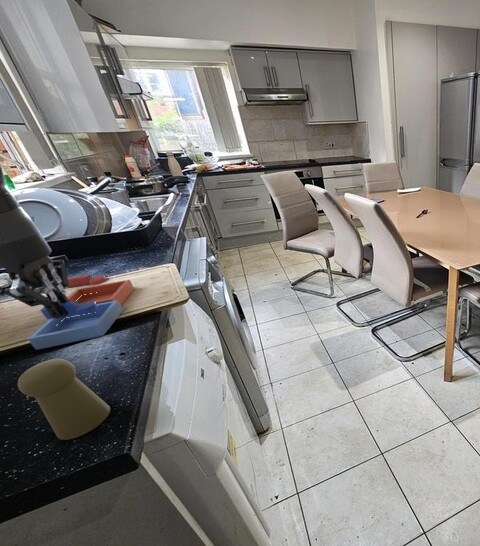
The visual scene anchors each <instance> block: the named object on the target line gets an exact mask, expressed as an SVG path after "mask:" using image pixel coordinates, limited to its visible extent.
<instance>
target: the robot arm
mask: <svg viewBox="0 0 480 546" xmlns="http://www.w3.org/2000/svg"><path fill="white" fill-rule="evenodd" d="M1 164H2V163H0V268H1V269H4V270H6V272H7V274H8V277H9V279H10V280H11V281H12V283H11V286H10V287H8V288H7V287H6V288H4V294H5V295H6V296H8V297H11V298H13V299H14V300H17V301H19V302H21V303H22V304H25V305H27V306H29V307H32V308H33V307H37V306H43V307H45V309H46V310H47V311H48V313H49V314H50V315H51V316H52V317H53V318H55V319H57V318H62V317H66V316H67V315H68V312H67V311H66V310H65V308H64V307H63V305H62V304H61V303H65V302H69V300H68V298H67V297H68V296H67V295H66V293H67V290H66V289H67V287H69V283H68V278H69V277H68V273H67V269H66V263H65V261H64V259H56V260H53V259H52V258H51V257H50V255H51V254H52V248H51V247H50V245H49V244H48V242H47V241H46V239H45V238H44V236H43V234H42V233H41V231H40V230H39V229H38V227H37V226H36V223H34V221H33V219H32V218H31V217H30V215H29V214H28V212H26V211H25V210H24V209H23V207H22V206H21V205H20V203H19V201H18V200H17V198H16V197H15V196H14V194H13V193H12V191H11V189H10V188H9V187H8V185H7V183H6V180H5V176H4V171H3V167H2V165H1ZM44 294H45V295H44Z"/></svg>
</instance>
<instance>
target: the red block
mask: <svg viewBox="0 0 480 546" xmlns="http://www.w3.org/2000/svg"><path fill="white" fill-rule="evenodd" d="M67 278H68V283H69V287H67V288H68V289H69V288H74V287H80V286H87V285H90V286H96V285H100V284H101V283H102V284H103V283H104V282H105V281H106V280H107V278H106V277H105V275H96V276H94V277H92V276H91V274H84V275H78V276H71V277H67ZM67 288H66V289H67Z"/></svg>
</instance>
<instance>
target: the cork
mask: <svg viewBox="0 0 480 546" xmlns="http://www.w3.org/2000/svg"><path fill="white" fill-rule="evenodd" d="M76 375H77V371H76V366H75V365H74V364H73V363H72V362H71V361H69V360H67V359H64V358H53V359H48V360H45V361H42V362H40V363H37V364H35V365H33V366H31V367H29V368H28V369H27V370H25V371H24V372H23V373H22V374H21V375H20V376H19V377H18V381H17V387H18V391H20V392H21V393H22V394H23V395H25V396H27V397H29V398H35V400H36V402H37V404H38V405H39V407H40V409H41V411H42V412H43V414H44V416H45V418H46V420H47V422H48V424H49V425H50V427H51V429H52V430H53V433H54V435H55V436H56V437H57V438H58V439H59V440H62V441H63V440H64V441H68V440H72V439H76V438H79V437H81V436H83V435H85V434H87V433H90V432H91V431H93V430H94V429H96V428H97V427H98V426H100V425H101V424H102V423H103V422H104V421H105V420H106V419H107V418H108V416H109V415H110V412H111V406H110V405H109V404H107V403H106V402H105V401H104V400H103V399H102V398H101V397H100V396H98V395H97V394H96V393H95V392H94V391H93V390H91V389H90V387H88V386H87V385H86V384H84V383H83V382H82V381H81V380H80V379H79V378H78V377H77V376H76Z"/></svg>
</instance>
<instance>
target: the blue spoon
mask: <svg viewBox="0 0 480 546" xmlns="http://www.w3.org/2000/svg"><path fill="white" fill-rule="evenodd" d="M61 304H62V305H63V307H64V308H65V310H66V311H67V312H68V315H73V314H77V315H83V314H87V313H90V312H92V311H94V310H96V309H97V308H98V306H97V304H96V303H95V302H94V301H89V302H85V303H82V304H80V305H79V304H78V303H77V301H70V302H65V303H61ZM40 312H41V313H42V315H43V316H44V318H45V319H46V320H47V321H48V320H49V319H53V317H52V316H51V315H50V314H49V313H48V311H47V310H46V309H45V307H44V306H43V307H42V308H41V309H40ZM68 315H67V316H68Z"/></svg>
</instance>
